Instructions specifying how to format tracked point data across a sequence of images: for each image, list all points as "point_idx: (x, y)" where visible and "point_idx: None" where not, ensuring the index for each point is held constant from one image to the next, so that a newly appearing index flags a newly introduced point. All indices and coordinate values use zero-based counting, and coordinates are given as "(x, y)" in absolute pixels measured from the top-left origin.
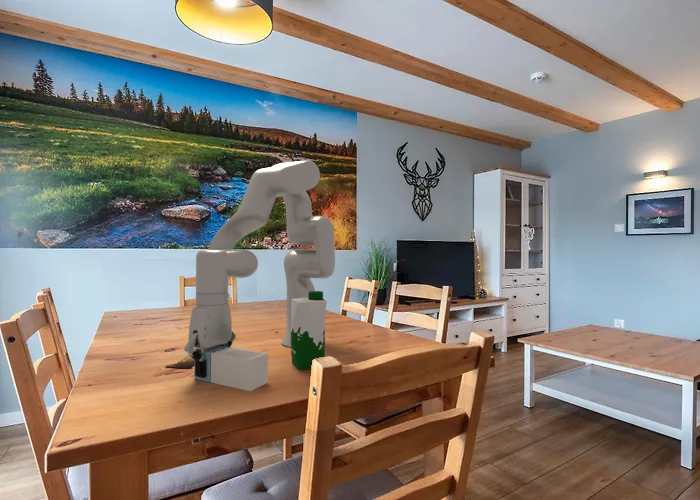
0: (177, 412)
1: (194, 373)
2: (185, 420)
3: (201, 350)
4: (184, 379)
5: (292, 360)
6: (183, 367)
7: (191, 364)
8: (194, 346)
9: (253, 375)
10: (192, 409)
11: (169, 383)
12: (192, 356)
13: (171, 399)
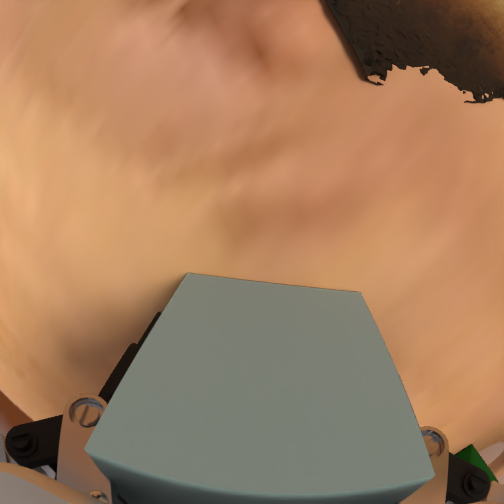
0: (20, 384)
1: (176, 290)
2: (27, 408)
3: (132, 492)
4: (150, 217)
5: (463, 459)
6: (351, 16)
7: (428, 37)
8: (54, 488)
9: None
10: (46, 406)
11: (70, 189)
12: (45, 431)
13: (21, 332)
